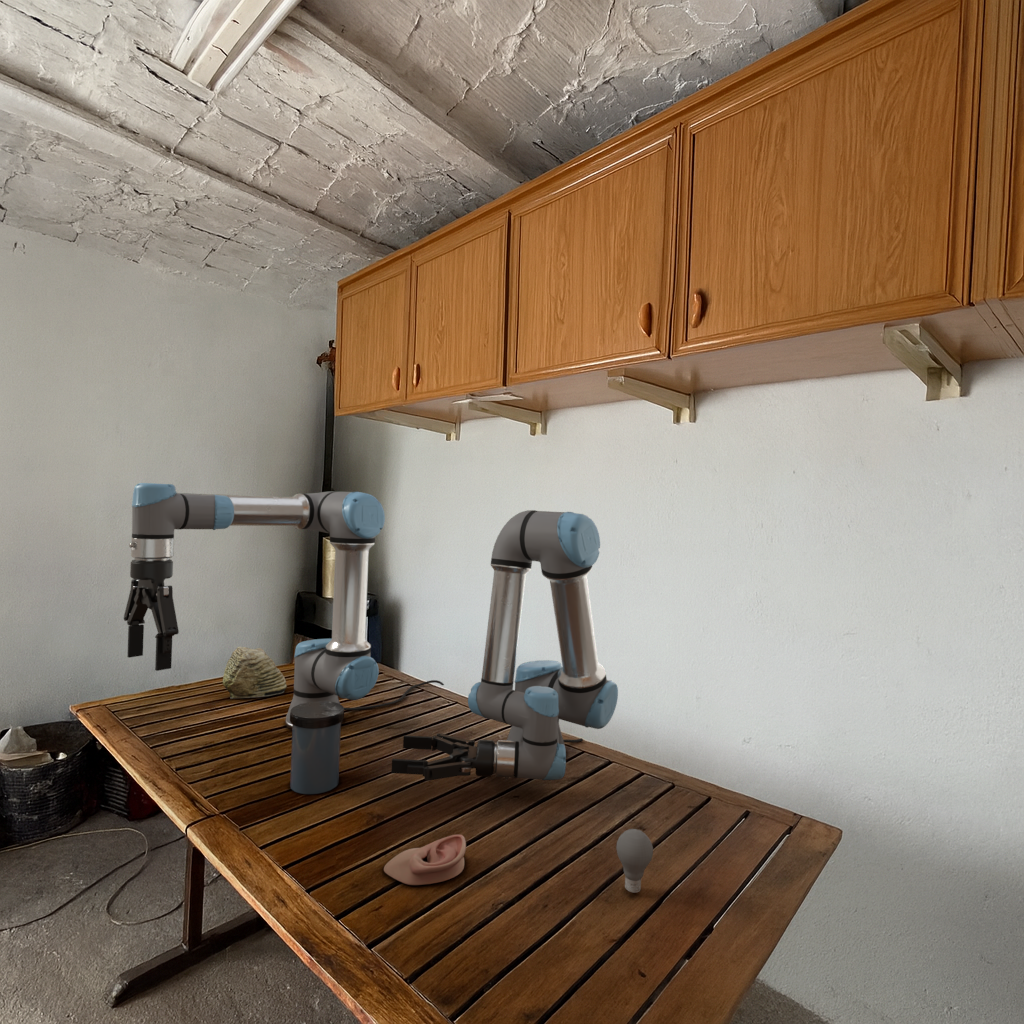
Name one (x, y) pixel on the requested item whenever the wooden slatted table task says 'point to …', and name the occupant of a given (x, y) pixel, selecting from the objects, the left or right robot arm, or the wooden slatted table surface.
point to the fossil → (252, 674)
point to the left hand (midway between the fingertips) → (148, 662)
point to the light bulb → (634, 857)
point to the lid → (316, 714)
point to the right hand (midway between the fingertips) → (397, 753)
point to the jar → (315, 759)
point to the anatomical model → (429, 862)
